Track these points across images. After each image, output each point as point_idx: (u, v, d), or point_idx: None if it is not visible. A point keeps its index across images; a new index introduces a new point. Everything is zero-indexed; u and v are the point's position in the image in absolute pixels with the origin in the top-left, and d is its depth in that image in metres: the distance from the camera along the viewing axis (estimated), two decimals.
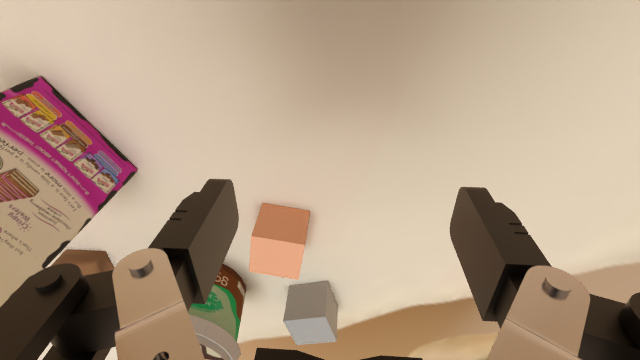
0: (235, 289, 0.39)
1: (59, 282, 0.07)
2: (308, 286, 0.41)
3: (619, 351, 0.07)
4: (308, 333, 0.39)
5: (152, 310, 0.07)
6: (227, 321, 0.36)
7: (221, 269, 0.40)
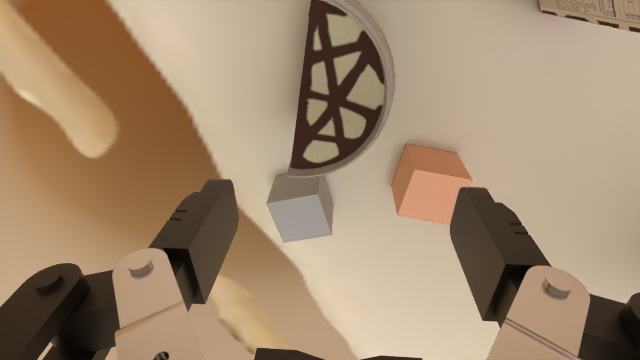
0: None
1: (59, 282, 0.07)
2: (327, 189, 0.35)
3: (619, 351, 0.07)
4: (294, 217, 0.32)
5: (152, 310, 0.07)
6: None
7: None
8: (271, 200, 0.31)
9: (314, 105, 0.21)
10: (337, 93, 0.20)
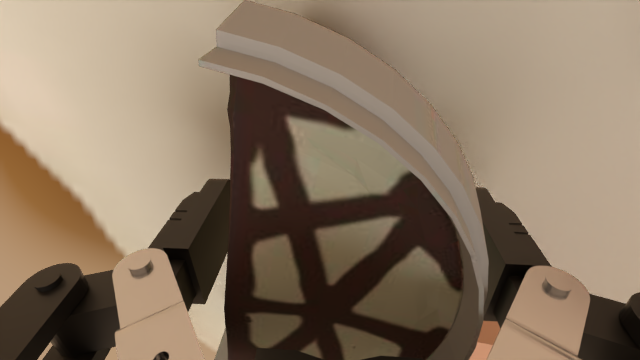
0: None
1: (59, 282, 0.07)
2: None
3: (619, 351, 0.07)
4: None
5: (152, 310, 0.07)
6: None
7: None
8: None
9: (267, 324, 0.08)
10: (328, 299, 0.08)
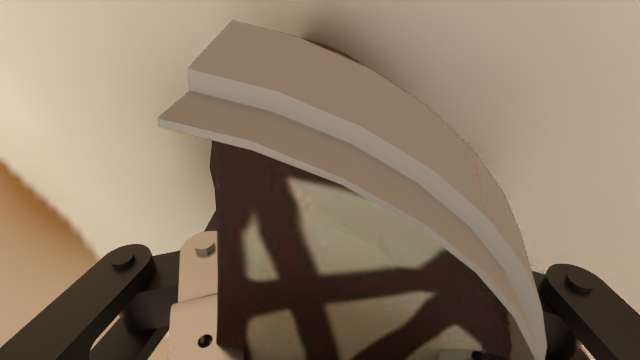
0: None
1: (132, 261, 0.08)
2: None
3: None
4: None
5: (207, 291, 0.07)
6: None
7: None
8: None
9: None
10: None
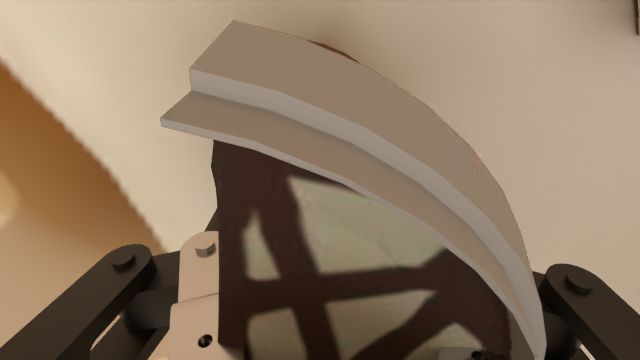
0: None
1: (133, 261, 0.08)
2: None
3: None
4: None
5: (207, 291, 0.07)
6: None
7: None
8: None
9: None
10: None
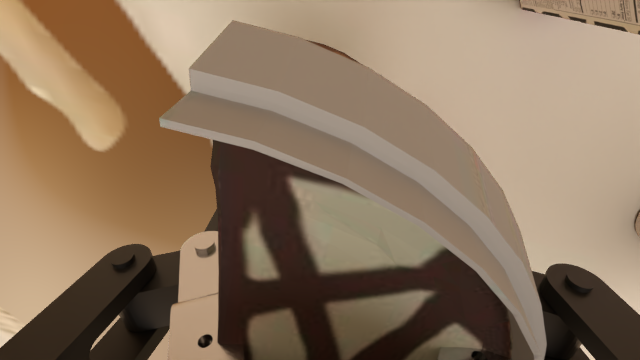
0: None
1: (133, 261, 0.08)
2: None
3: None
4: None
5: (207, 291, 0.07)
6: None
7: None
8: None
9: None
10: None
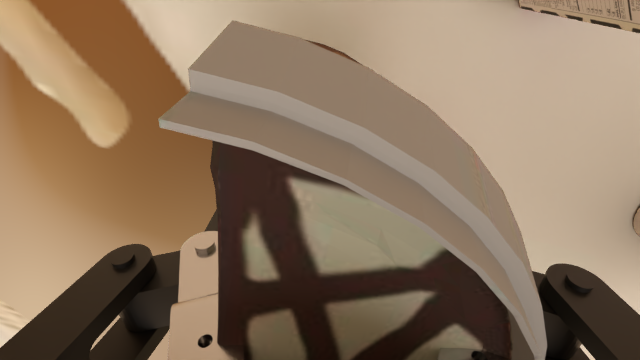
0: None
1: (133, 261, 0.08)
2: None
3: None
4: None
5: (207, 291, 0.07)
6: None
7: None
8: None
9: None
10: None
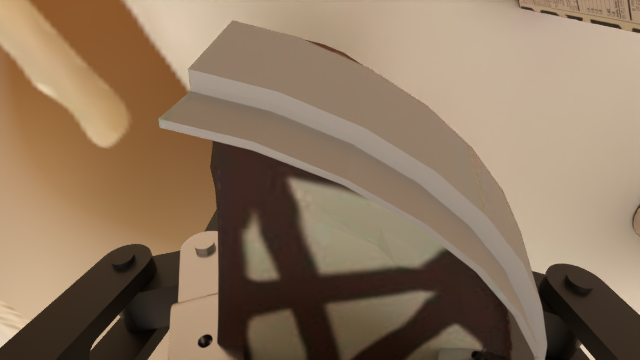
0: None
1: (133, 261, 0.08)
2: None
3: None
4: None
5: (207, 291, 0.07)
6: None
7: None
8: None
9: None
10: None
